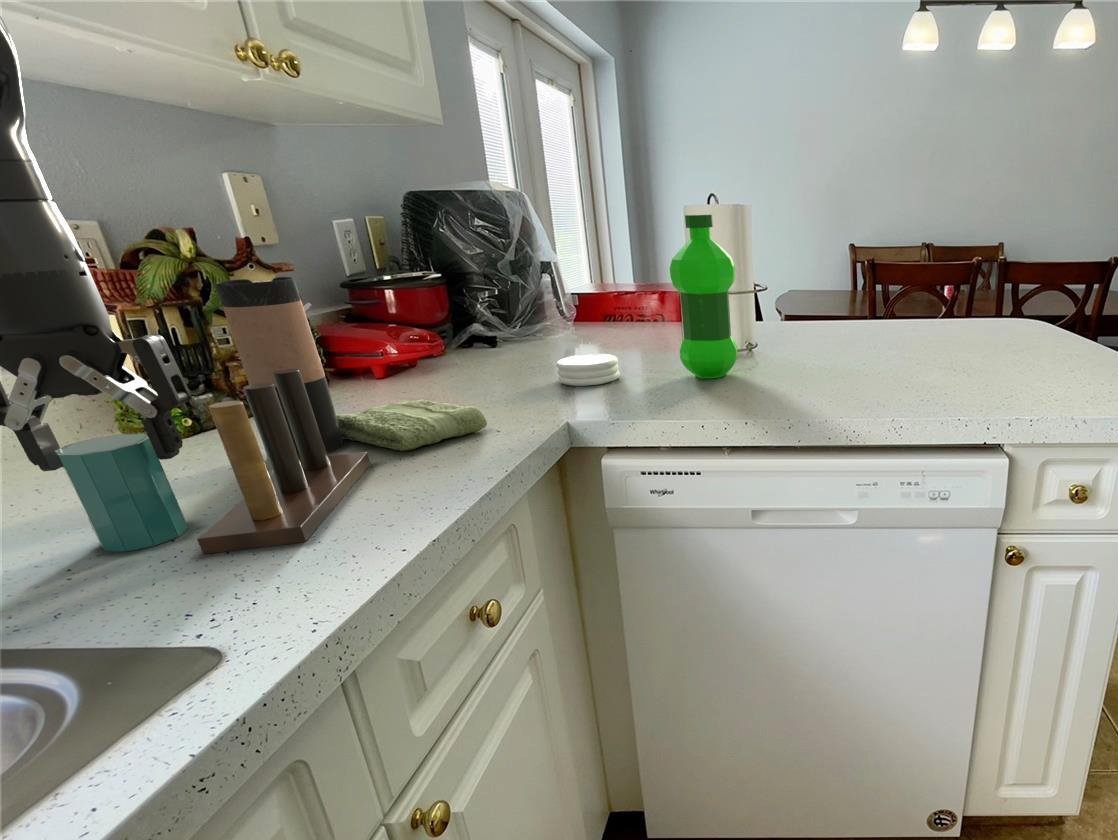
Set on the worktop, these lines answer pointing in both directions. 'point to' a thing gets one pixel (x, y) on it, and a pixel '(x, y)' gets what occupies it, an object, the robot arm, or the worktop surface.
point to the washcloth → (410, 424)
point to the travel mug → (278, 343)
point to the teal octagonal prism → (123, 491)
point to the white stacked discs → (588, 369)
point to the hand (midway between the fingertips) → (114, 462)
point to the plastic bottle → (704, 301)
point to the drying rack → (278, 468)
